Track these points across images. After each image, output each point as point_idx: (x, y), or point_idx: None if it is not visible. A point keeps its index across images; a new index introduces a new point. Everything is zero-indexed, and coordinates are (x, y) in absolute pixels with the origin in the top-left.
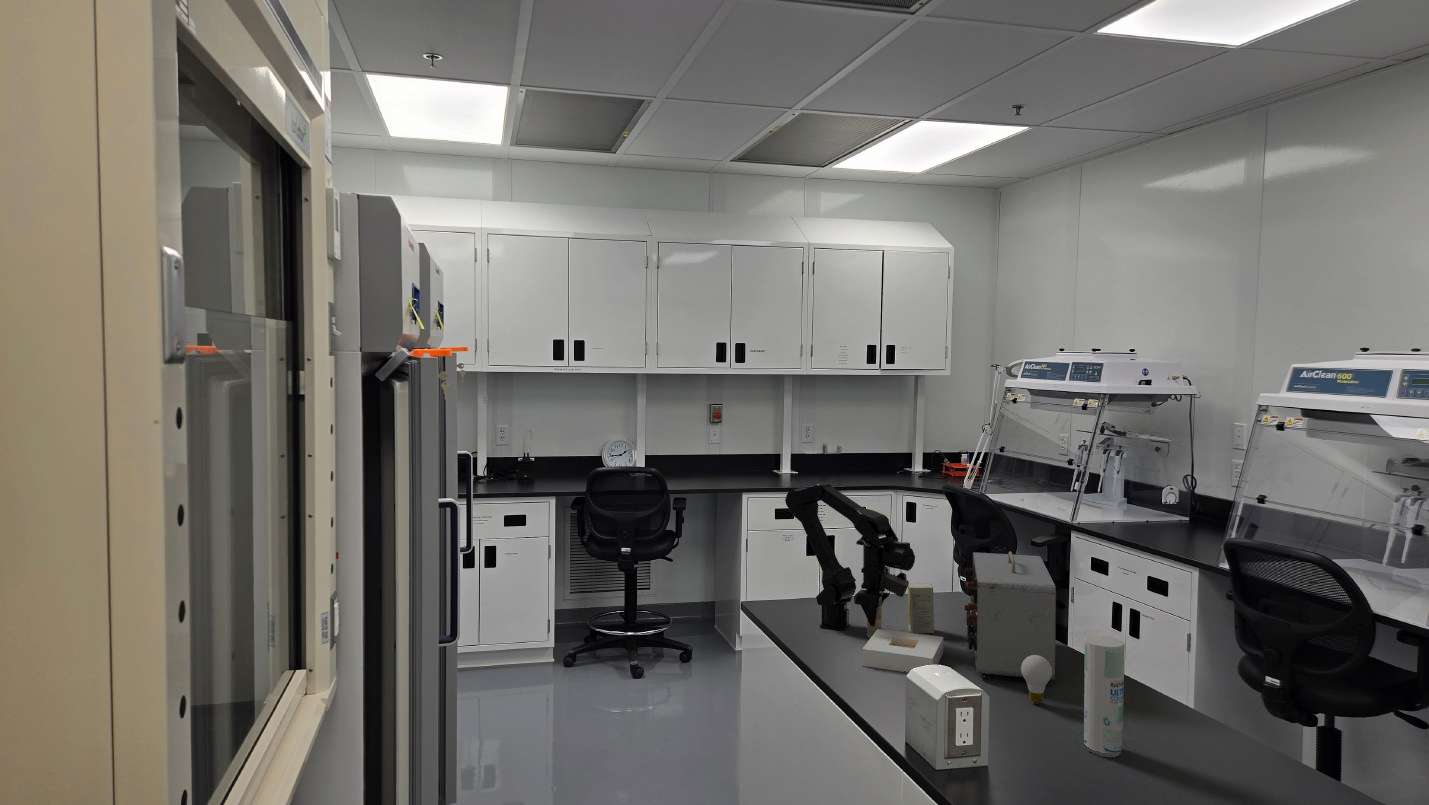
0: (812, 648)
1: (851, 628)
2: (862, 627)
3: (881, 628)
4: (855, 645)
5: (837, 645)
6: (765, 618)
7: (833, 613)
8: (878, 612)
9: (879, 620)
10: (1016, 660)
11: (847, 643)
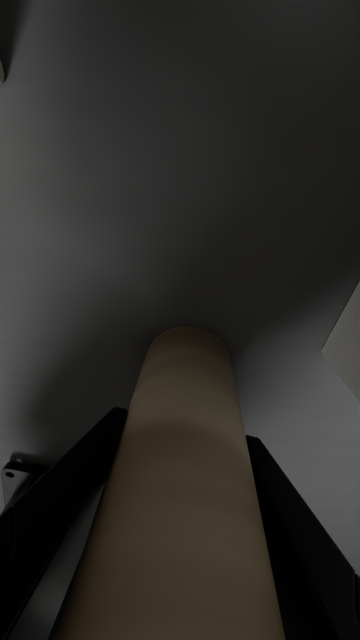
0: (354, 560)
1: (67, 451)
2: (29, 410)
3: (191, 363)
4: (327, 446)
5: (323, 501)
6: None
7: None
8: (262, 563)
9: (236, 443)
10: None
11: (296, 471)
